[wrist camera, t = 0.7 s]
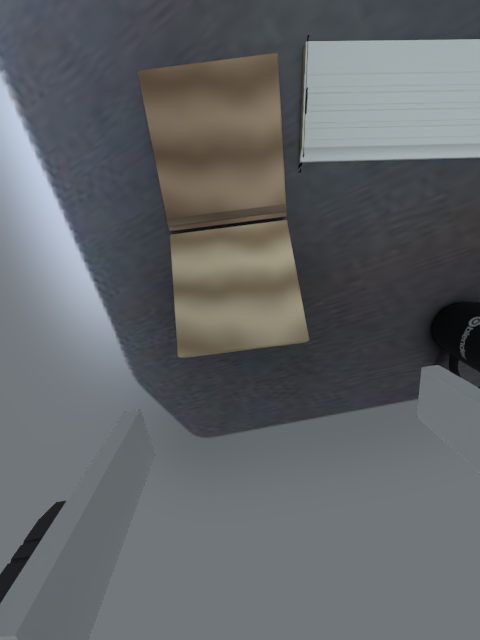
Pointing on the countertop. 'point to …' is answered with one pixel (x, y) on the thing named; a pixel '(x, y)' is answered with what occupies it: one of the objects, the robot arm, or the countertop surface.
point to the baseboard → (390, 100)
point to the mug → (460, 334)
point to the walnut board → (217, 140)
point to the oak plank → (236, 289)
